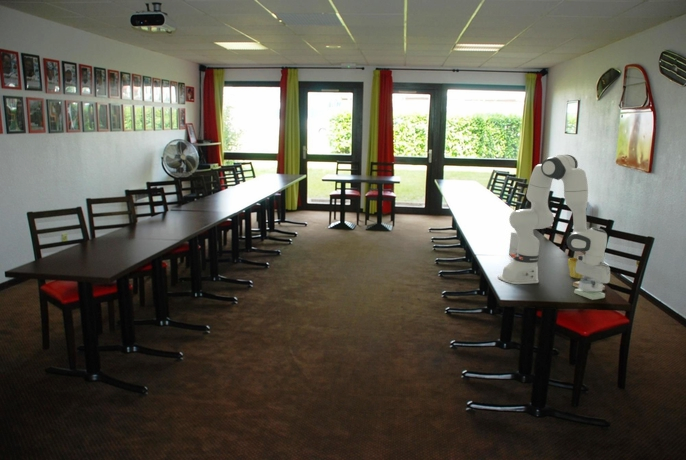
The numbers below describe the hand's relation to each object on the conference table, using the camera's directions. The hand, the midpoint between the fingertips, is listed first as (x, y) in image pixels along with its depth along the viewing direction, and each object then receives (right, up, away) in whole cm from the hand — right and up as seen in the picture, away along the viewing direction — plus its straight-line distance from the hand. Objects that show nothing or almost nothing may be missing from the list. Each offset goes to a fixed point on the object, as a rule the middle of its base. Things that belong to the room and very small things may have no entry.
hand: (590, 286), depth 275 cm
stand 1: (+5, -2, +14) cm, 15 cm away
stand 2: (0, -5, +1) cm, 5 cm away
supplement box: (-12, +12, +79) cm, 81 cm away
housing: (0, -2, 0) cm, 2 cm away
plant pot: (+7, +2, +34) cm, 34 cm away
